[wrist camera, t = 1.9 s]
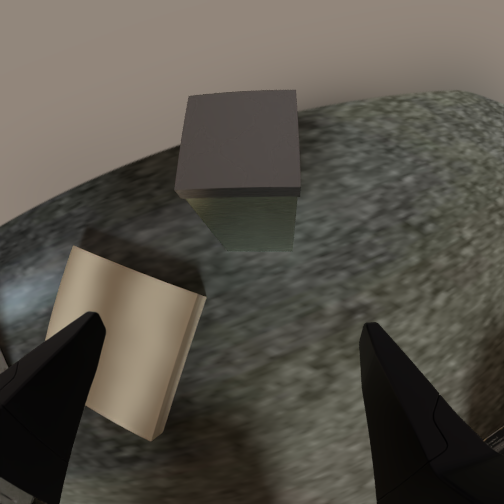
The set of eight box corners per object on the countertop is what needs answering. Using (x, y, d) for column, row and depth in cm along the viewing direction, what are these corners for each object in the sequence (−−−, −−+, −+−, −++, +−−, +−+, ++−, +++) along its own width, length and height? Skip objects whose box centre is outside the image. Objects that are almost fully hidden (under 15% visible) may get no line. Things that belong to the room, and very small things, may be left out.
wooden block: (208, 297, 24) (197, 294, 21) (165, 430, 22) (151, 441, 19) (91, 253, 26) (73, 245, 23) (58, 369, 24) (38, 372, 21)
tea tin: (292, 189, 25) (295, 89, 13) (293, 252, 24) (300, 187, 12) (229, 190, 25) (188, 96, 14) (225, 252, 24) (174, 190, 13)
